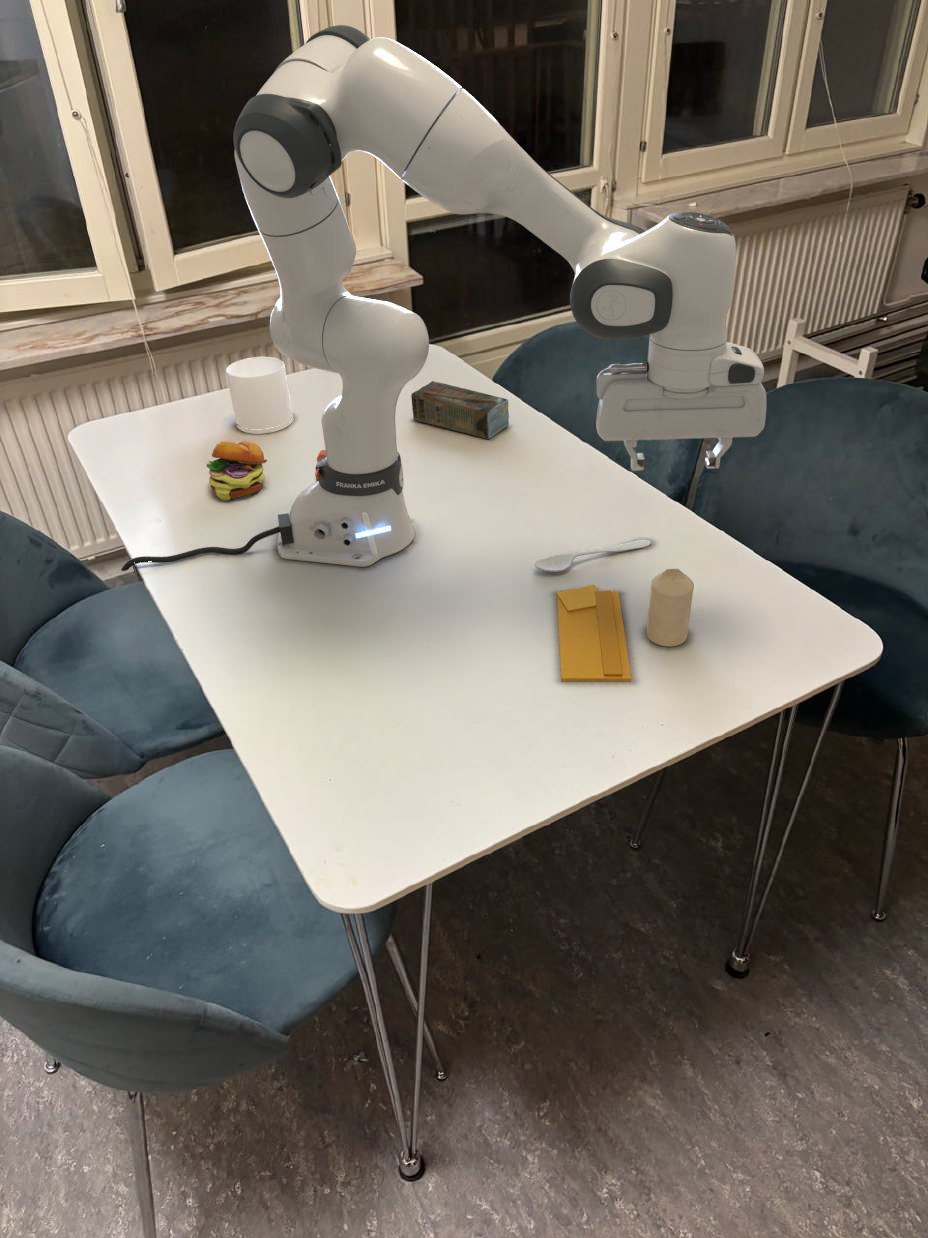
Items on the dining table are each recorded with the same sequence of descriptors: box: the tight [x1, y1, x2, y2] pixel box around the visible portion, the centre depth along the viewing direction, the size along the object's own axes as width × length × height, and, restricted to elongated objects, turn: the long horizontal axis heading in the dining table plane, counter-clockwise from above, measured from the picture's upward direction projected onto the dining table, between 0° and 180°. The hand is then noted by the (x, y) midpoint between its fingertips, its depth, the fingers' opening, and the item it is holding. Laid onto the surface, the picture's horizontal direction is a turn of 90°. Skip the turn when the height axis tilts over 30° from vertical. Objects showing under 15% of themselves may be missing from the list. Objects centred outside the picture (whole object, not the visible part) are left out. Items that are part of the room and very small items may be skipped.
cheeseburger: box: [206, 440, 268, 502], centre depth 164 cm, size 10×11×10 cm
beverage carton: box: [410, 380, 510, 440], centre depth 183 cm, size 8×19×7 cm, turn 55°
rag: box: [556, 584, 632, 682], centre depth 126 cm, size 9×21×1 cm, turn 177°
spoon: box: [533, 539, 652, 573], centre depth 141 cm, size 4×21×2 cm, turn 113°
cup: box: [225, 356, 294, 435], centre depth 186 cm, size 12×12×12 cm
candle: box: [646, 568, 695, 648], centre depth 122 cm, size 6×6×10 cm
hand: (674, 467), depth 115 cm, fingers open, 8 cm apart
